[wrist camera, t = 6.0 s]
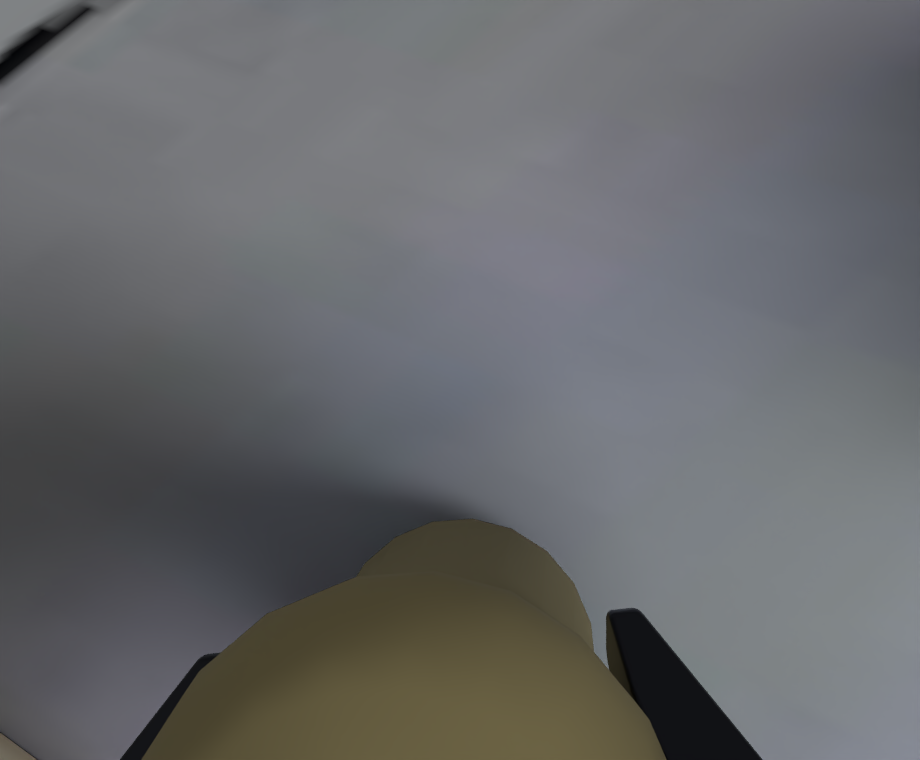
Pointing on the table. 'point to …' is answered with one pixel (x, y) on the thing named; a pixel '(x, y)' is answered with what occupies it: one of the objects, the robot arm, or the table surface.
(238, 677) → the cork
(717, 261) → the table surface
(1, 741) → the block
